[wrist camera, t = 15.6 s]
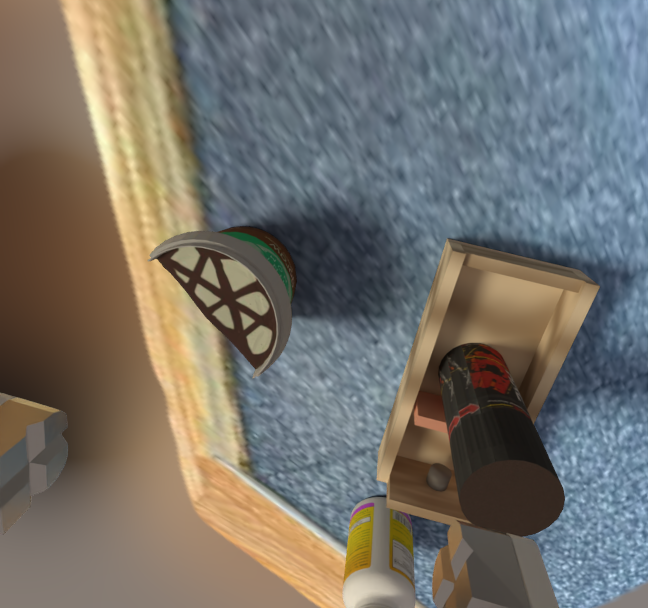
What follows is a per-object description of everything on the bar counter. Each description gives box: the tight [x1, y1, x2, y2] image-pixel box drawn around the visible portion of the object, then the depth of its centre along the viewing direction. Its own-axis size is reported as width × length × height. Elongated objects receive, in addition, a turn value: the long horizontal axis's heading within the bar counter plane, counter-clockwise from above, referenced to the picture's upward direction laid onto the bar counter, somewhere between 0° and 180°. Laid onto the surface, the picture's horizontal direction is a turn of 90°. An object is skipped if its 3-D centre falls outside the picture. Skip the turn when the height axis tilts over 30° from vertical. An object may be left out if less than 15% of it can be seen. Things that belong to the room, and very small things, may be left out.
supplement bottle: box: [343, 497, 415, 608], centre depth 44 cm, size 7×7×13 cm
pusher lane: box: [377, 239, 600, 525], centre depth 39 cm, size 23×11×7 cm, turn 168°
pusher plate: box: [414, 391, 448, 434], centre depth 40 cm, size 1×8×4 cm, turn 78°
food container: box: [148, 226, 297, 378], centre depth 36 cm, size 12×6×10 cm, turn 39°
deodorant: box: [438, 343, 565, 537], centre depth 34 cm, size 6×6×15 cm
